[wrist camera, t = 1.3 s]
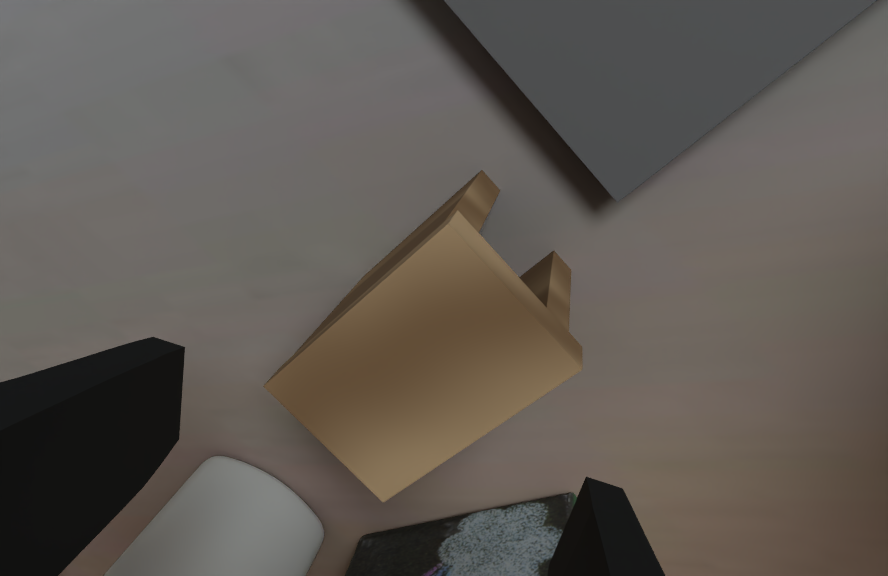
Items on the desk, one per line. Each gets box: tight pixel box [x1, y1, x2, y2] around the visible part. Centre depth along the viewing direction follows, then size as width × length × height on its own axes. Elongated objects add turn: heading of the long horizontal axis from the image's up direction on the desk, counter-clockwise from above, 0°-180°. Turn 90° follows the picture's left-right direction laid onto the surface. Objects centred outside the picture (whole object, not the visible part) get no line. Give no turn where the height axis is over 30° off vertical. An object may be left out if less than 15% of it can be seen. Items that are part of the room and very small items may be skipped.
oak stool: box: [263, 170, 582, 502], centre depth 16 cm, size 4×6×6 cm, turn 133°
